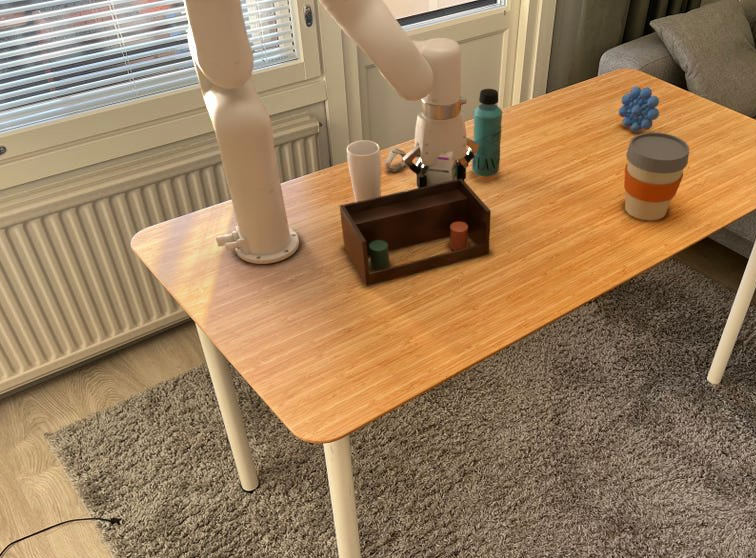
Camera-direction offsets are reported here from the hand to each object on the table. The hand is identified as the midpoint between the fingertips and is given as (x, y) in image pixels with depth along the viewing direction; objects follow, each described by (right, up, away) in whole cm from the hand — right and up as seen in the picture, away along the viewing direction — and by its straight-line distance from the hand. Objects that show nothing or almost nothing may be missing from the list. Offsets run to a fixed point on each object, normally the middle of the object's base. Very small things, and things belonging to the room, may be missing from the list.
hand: (441, 186), depth 150 cm
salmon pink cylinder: (+4, -14, -6) cm, 16 cm away
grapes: (+49, +22, +32) cm, 63 cm away
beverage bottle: (+10, +6, +14) cm, 18 cm away
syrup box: (0, -4, +4) cm, 6 cm away
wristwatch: (-11, +8, +16) cm, 21 cm away
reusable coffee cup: (+45, -4, +5) cm, 45 cm away
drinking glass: (-16, -5, +3) cm, 17 cm away
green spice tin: (-12, -19, -12) cm, 25 cm away
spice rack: (-5, -15, -8) cm, 17 cm away
